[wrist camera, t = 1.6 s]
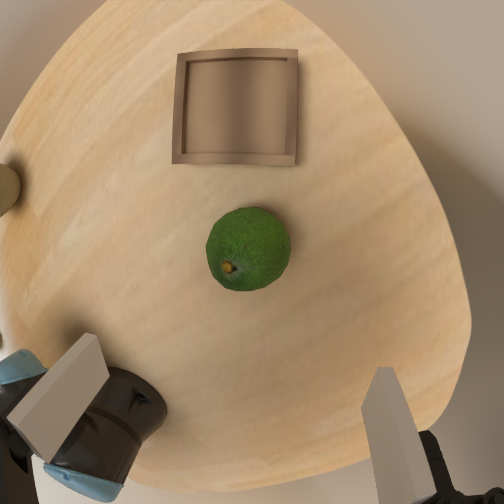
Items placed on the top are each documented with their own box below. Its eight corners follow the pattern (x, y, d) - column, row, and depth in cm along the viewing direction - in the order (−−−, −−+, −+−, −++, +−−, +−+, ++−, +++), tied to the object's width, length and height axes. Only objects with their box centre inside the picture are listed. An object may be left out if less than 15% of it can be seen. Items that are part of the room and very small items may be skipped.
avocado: (264, 186, 30) (251, 202, 19) (302, 245, 32) (311, 293, 21) (205, 225, 32) (165, 261, 21) (244, 279, 34) (224, 337, 23)
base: (185, 163, 30) (171, 164, 27) (189, 64, 27) (177, 53, 23) (293, 165, 29) (295, 166, 25) (296, 62, 25) (298, 49, 22)
